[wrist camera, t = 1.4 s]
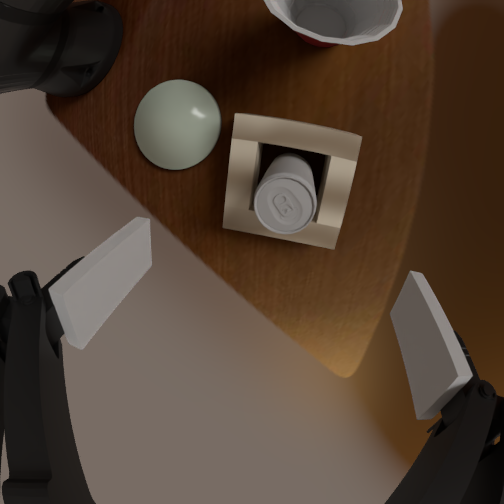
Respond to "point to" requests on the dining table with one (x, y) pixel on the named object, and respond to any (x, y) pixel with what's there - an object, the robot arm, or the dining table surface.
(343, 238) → the dining table surface
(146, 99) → the pale green cabochon
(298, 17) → the plastic cup
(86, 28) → the robot arm
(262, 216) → the beverage can
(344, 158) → the birch sleeve
